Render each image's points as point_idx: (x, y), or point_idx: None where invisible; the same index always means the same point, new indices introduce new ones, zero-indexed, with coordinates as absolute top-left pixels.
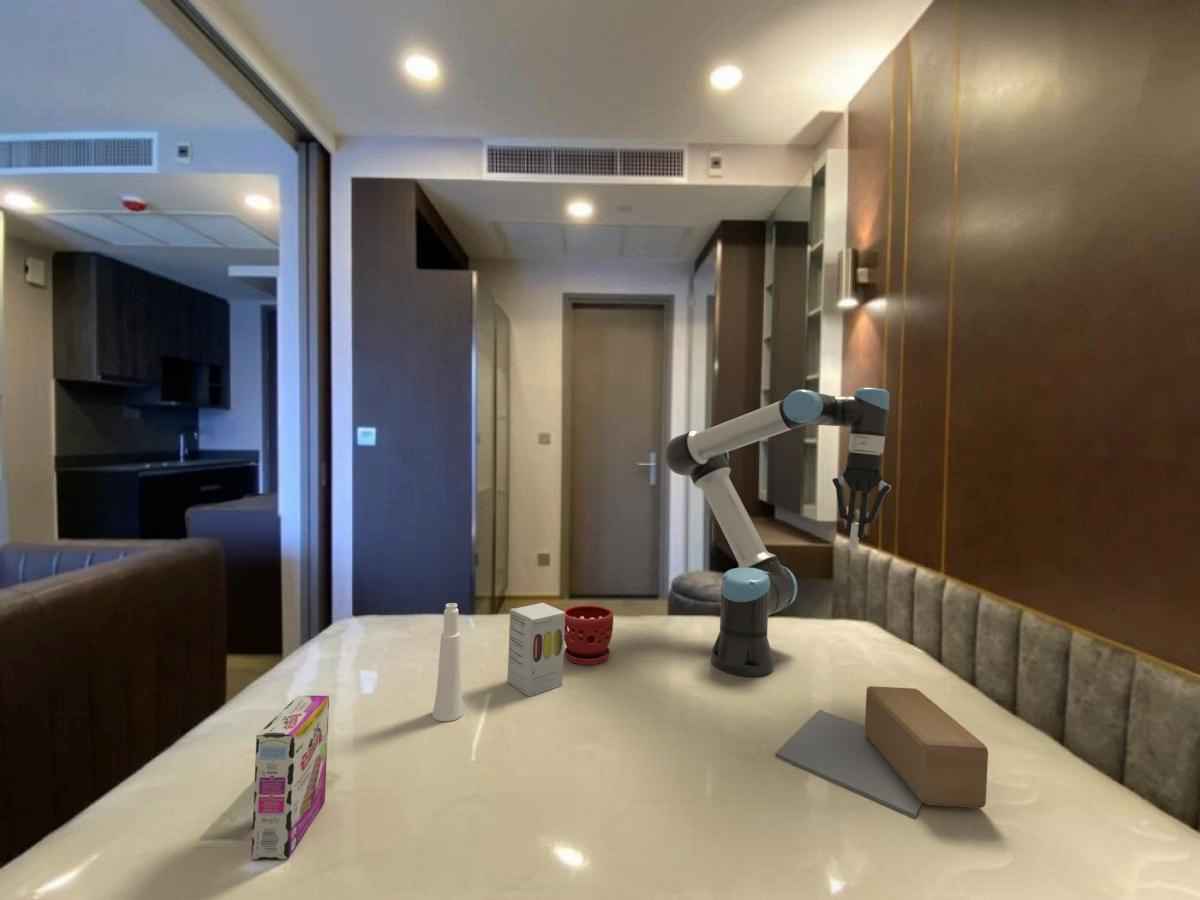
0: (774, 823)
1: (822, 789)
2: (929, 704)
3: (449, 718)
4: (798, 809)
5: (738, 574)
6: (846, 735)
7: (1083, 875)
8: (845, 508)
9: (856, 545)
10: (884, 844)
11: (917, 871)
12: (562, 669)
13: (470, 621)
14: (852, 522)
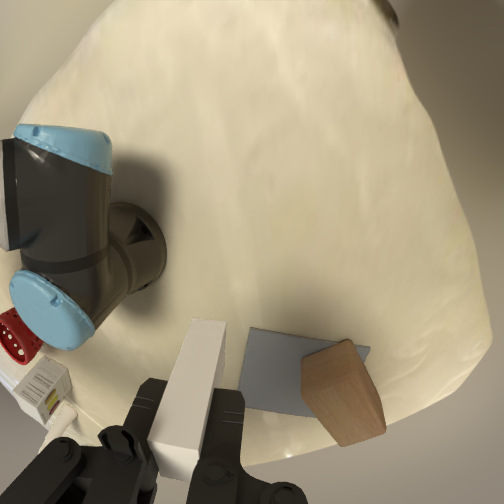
0: (254, 442)
1: (274, 418)
2: (360, 405)
3: (76, 416)
4: (263, 433)
5: (33, 321)
6: (284, 363)
7: (409, 410)
8: (52, 501)
9: (221, 369)
10: (311, 436)
11: (325, 441)
12: (61, 377)
13: None
14: (157, 471)
